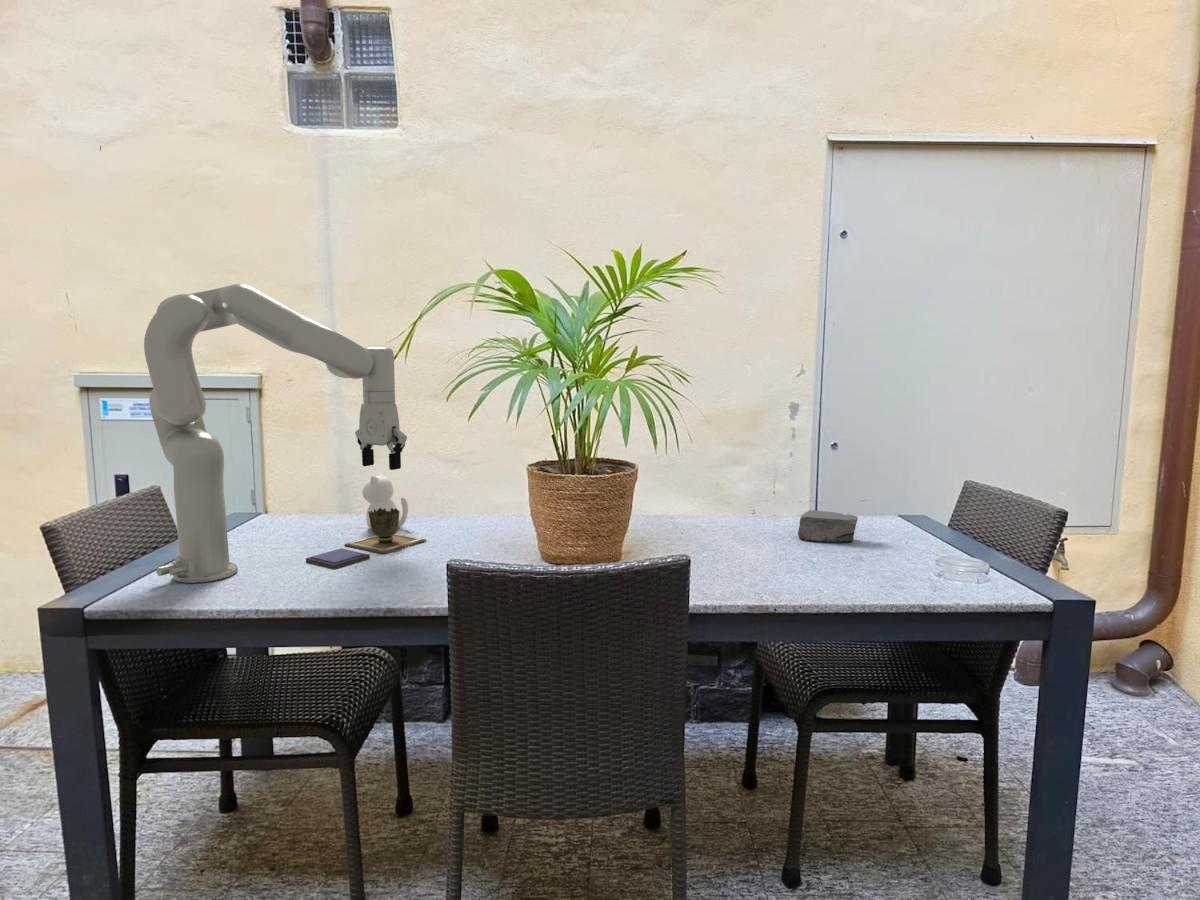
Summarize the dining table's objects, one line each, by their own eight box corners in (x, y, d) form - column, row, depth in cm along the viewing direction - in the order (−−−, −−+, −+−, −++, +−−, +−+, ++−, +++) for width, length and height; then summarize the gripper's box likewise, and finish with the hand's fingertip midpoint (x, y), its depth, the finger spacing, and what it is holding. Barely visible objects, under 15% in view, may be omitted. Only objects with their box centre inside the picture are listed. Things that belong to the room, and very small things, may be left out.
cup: (405, 538, 197) (403, 507, 196) (394, 546, 190) (393, 514, 188) (376, 538, 198) (375, 507, 196) (365, 545, 190) (363, 513, 189)
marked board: (383, 554, 184) (383, 551, 184) (344, 545, 192) (344, 543, 192) (426, 541, 196) (426, 538, 196) (388, 534, 204) (388, 531, 203)
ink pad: (334, 568, 173) (334, 563, 173) (306, 562, 178) (305, 557, 178) (369, 558, 181) (369, 553, 181) (341, 552, 186) (341, 547, 186)
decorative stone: (793, 535, 202) (800, 544, 192) (794, 509, 202) (801, 516, 192) (850, 537, 201) (860, 545, 191) (852, 510, 200) (862, 518, 191)
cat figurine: (371, 524, 215) (369, 470, 213) (415, 525, 213) (413, 471, 211) (357, 532, 206) (355, 476, 204) (403, 533, 204) (400, 477, 202)
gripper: (343, 397, 190) (346, 466, 193) (391, 400, 181) (394, 472, 183) (367, 395, 197) (369, 462, 199) (415, 398, 187) (417, 468, 189)
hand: (381, 467), depth 191 cm, fingers open, 9 cm apart
